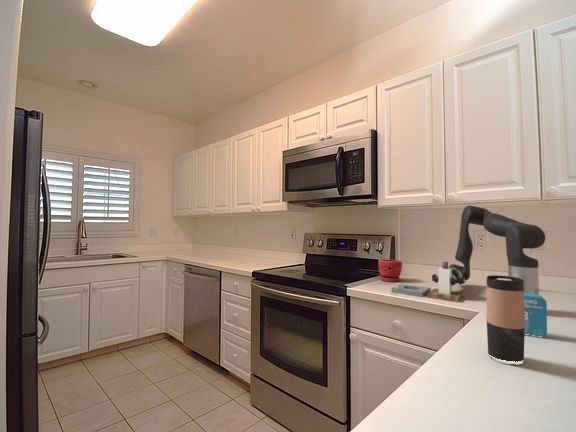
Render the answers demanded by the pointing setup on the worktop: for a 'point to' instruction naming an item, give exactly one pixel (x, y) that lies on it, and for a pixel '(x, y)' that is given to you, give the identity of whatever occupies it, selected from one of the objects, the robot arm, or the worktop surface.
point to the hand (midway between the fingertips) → (443, 281)
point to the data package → (535, 315)
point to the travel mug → (505, 317)
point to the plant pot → (389, 269)
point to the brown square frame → (445, 295)
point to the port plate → (411, 290)
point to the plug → (445, 279)
